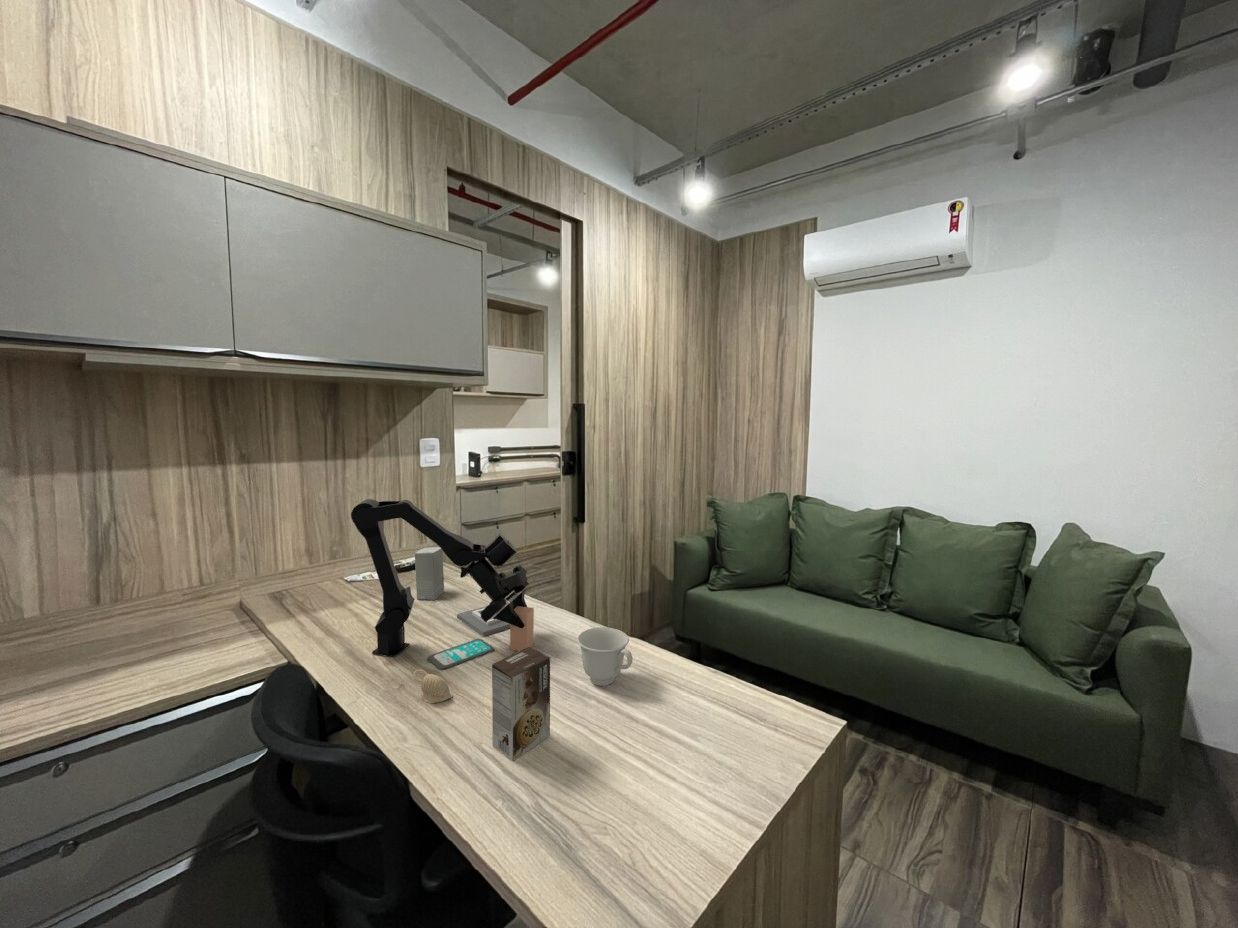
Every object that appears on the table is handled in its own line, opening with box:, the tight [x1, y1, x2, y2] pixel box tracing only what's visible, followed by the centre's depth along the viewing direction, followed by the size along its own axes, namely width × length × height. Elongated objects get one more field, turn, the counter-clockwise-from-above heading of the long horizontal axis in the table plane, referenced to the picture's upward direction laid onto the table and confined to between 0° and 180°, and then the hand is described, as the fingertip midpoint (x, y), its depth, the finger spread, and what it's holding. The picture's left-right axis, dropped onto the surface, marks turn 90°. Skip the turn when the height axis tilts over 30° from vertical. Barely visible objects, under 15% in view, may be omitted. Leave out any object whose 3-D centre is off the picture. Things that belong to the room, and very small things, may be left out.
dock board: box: [456, 605, 510, 637], centre depth 144 cm, size 16×16×2 cm
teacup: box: [577, 626, 634, 686], centre depth 112 cm, size 12×15×10 cm
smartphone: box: [426, 638, 495, 671], centre depth 123 cm, size 9×1×15 cm
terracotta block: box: [509, 606, 535, 652], centre depth 127 cm, size 5×5×10 cm
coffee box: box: [491, 646, 551, 762], centre depth 90 cm, size 9×6×16 cm
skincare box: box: [414, 546, 445, 601], centre depth 161 cm, size 8×7×16 cm
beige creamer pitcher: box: [412, 669, 454, 704], centre depth 104 cm, size 4×8×5 cm, turn 64°
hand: (527, 623), depth 127 cm, fingers closed on terracotta block, 5 cm apart
